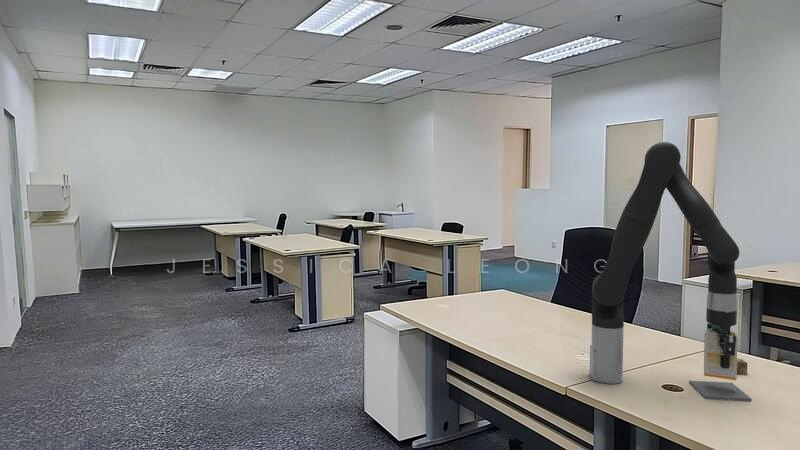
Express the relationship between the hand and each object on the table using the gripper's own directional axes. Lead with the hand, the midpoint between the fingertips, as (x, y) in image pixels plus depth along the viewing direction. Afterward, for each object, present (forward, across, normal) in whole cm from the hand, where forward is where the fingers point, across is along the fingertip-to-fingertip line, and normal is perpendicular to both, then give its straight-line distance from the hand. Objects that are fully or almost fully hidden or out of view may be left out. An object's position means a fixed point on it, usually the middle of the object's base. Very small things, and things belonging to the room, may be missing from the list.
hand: (719, 363), depth 152 cm
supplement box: (+4, 0, 0) cm, 4 cm away
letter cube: (+9, -18, +12) cm, 23 cm away
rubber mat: (+8, 0, 0) cm, 8 cm away
